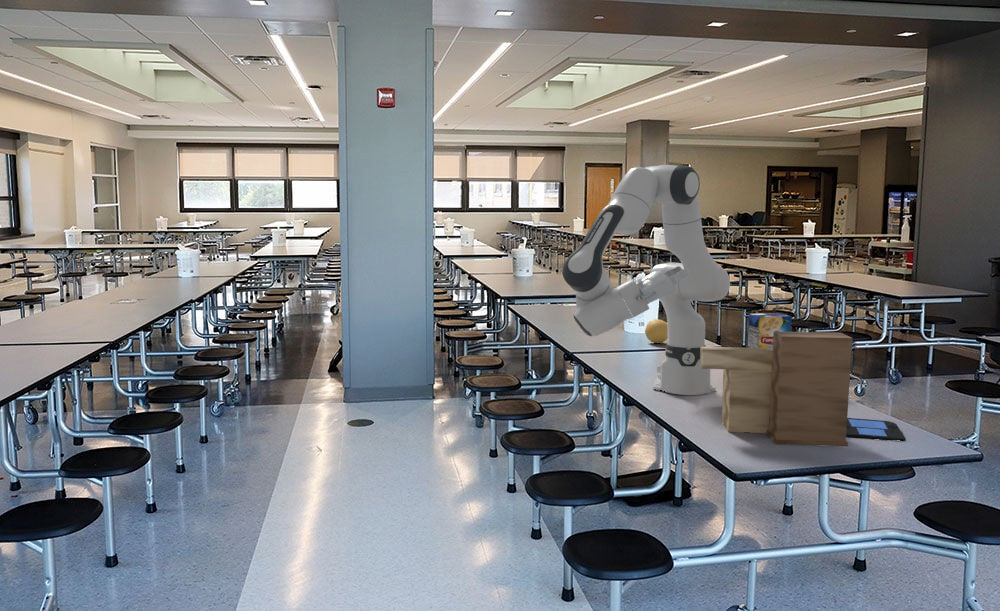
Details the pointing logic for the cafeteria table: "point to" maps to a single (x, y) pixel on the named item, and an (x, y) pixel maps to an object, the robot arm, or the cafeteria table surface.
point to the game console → (873, 429)
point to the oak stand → (746, 400)
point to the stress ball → (657, 331)
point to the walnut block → (809, 388)
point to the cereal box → (766, 328)
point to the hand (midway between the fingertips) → (684, 270)
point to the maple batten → (736, 358)
